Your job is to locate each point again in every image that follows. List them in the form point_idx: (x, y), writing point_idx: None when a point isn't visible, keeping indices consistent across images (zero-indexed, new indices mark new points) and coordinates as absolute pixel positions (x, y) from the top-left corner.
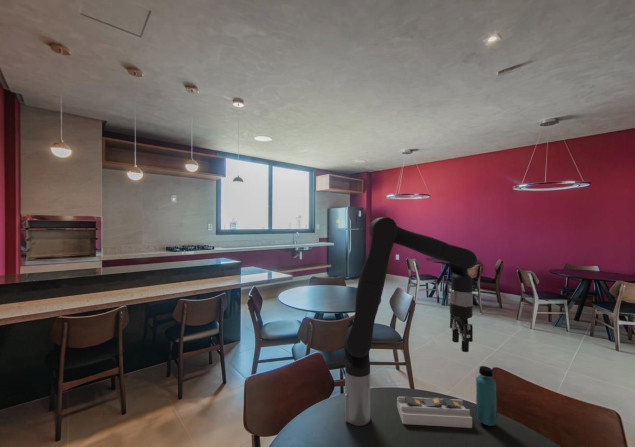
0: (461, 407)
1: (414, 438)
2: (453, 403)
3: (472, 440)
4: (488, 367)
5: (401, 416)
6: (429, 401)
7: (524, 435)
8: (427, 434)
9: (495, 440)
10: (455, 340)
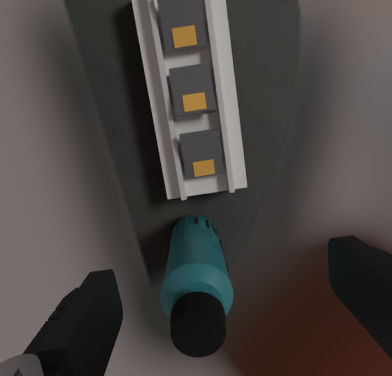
0: (211, 182)
1: (83, 30)
2: (200, 159)
3: (122, 181)
4: (213, 350)
5: None
6: (195, 80)
7: None
8: (111, 69)
9: (137, 232)
10: (339, 268)
